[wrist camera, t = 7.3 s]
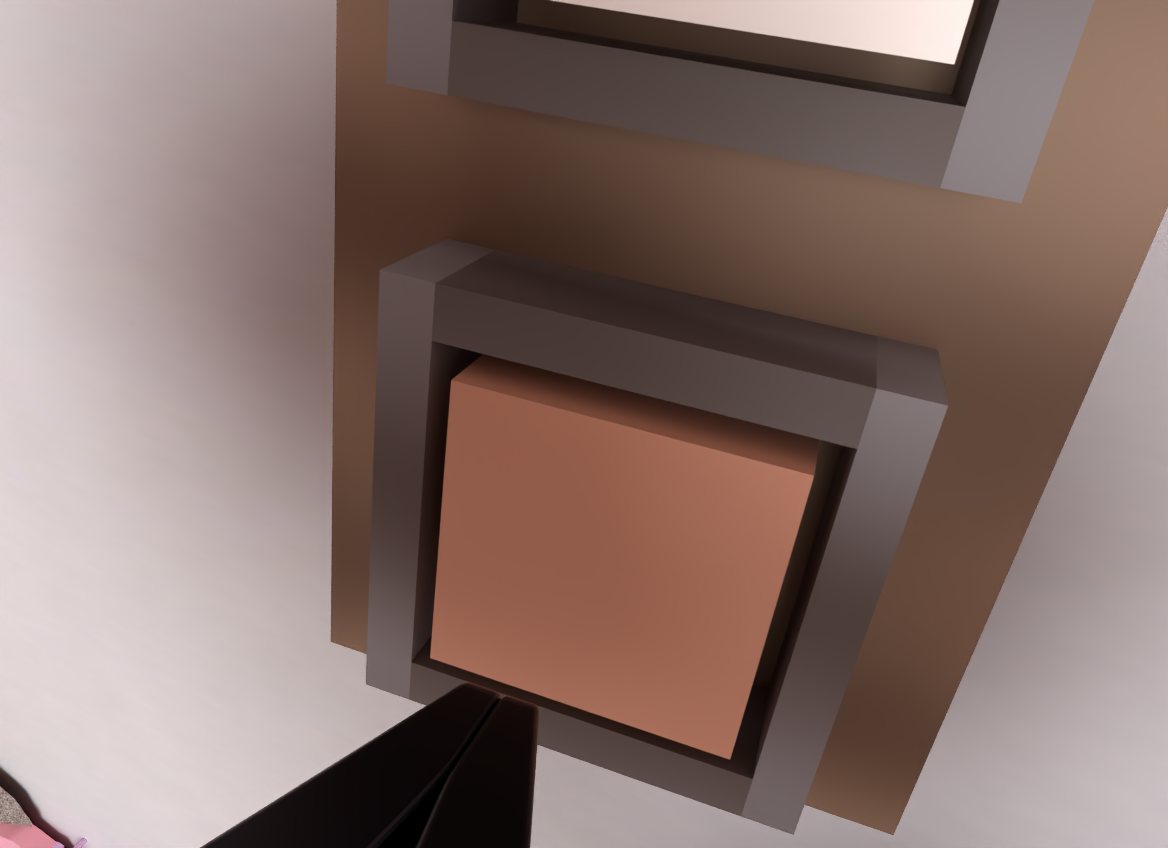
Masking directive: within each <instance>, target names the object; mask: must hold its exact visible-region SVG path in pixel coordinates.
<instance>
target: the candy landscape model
mask: <svg viewBox="0 0 1168 848" xmlns="http://www.w3.org/2000/svg"><path fill="white" fill-rule="evenodd" d="M86 842H87V840H86V839H85V838H83V839H81V840H80V841H79V842H78V843H77V844H76V845H75V846H74V847H73V848H81V847H82V846H83V845H84V844H85V843H86ZM0 848H64V845H62V844H61V843H59V842H56V841H54V840H53V839H52V838H50V837H49V836H48V835H47V834H45V833H44V832H43V831H41V830H40V829H39V828H37V827H36V826H35V825H33V824H32V822H31V821H30V819H29V817H28V816H27V815H26V814H25V813H24V812H23V810H22V808H21V807H20V805H19V804H18V802H17V801H16V800H15V799H14V798H13V797H12V796H11V795H10V794H8V793H7V792H6V791H5V790H4V789H2V788H1V787H0Z"/></svg>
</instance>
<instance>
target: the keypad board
mask: <svg viewBox="0 0 1168 848" xmlns="http://www.w3.org/2000/svg"><path fill="white" fill-rule="evenodd" d="M1167 207H1168V0H974V2H973V5H972V8H971V12H970V15H969V18H968V21H967V25H966V28H965V31H964V34H963V38H962V41H961V44H960V48H959V51H958V54H957V57H956V61H955V64H948V63H942V62H935V61H929V60H923V59H916V58H910V57H904V56H897V55H891V54H885V53H879V52H872V51H866V50H860V49H853V48H847V47H841V46H835V45H828V44H822V43H816V42H809V41H803V40H797V39H790V38H784V37H778V36H772V35H765V34H759V33H753V32H746V31H740V30H734V29H727V28H721V27H715V26H709V25H702V24H696V23H690V22H683V21H677V20H671V19H665V18H658V17H652V16H646V15H639V14H633V13H627V12H620V11H614V10H608V9H602V8H595V7H589V6H583V5H576V4H570V3H564V2H558V1H551V0H337V46H336V152H335V259H334V365H333V472H332V578H331V642H333V643H336V644H339V645H342V646H345V647H348V648H351V649H354V650H357V651H360V652H363V653H365V654H367V665H366V684H367V685H370V686H373V687H376V688H378V689H381V690H384V691H387V692H390V693H393V694H395V695H398V696H401V697H404V698H407V699H410V700H412V701H415V702H418V703H421V704H424V705H429V704H430V703H432V702H433V701H435V700H437V699H438V698H440V697H441V696H443V695H445V694H446V693H448V692H449V691H451V690H453V689H454V688H456V687H457V686H459V685H461V684H463V683H467V682H470V683H474V684H477V685H480V686H483V687H486V688H489V689H492V690H495V691H497V692H498V693H499V694H500V695H501V698H502V697H503V696H506V695H509V696H512V697H515V698H518V699H521V700H524V701H527V702H530V703H533V704H535V705H537V707H538V708H539V724H538V739H537V745H540V746H543V747H546V748H549V749H552V750H554V751H557V752H560V753H563V754H566V755H569V756H571V757H574V758H577V759H580V760H583V761H586V762H588V763H591V764H594V765H597V766H600V767H603V768H605V769H608V770H611V771H614V772H617V773H620V774H622V775H625V776H628V777H631V778H634V779H637V780H639V781H642V782H645V783H648V784H651V785H654V786H657V787H659V788H662V789H665V790H668V791H671V792H674V793H676V794H679V795H682V796H685V797H688V798H691V799H693V800H696V801H699V802H702V803H705V804H708V805H710V806H713V807H716V808H719V809H722V810H725V811H727V812H730V813H733V814H736V815H739V816H742V817H745V818H747V819H750V820H753V821H756V822H759V823H762V824H764V825H767V826H770V827H773V828H776V829H779V830H781V831H784V832H787V833H790V834H793V835H794V832H795V829H796V826H797V823H798V821H799V818H800V815H801V812H802V810H803V807H804V805H807V806H810V807H813V808H816V809H819V810H822V811H825V812H828V813H830V814H833V815H836V816H839V817H842V818H845V819H848V820H851V821H854V822H857V823H860V824H862V825H865V826H868V827H871V828H874V829H877V830H880V831H883V832H886V833H889V834H891V835H894V832H895V830H896V828H897V826H898V823H899V821H900V819H901V816H902V814H903V812H904V809H905V807H906V805H907V803H908V800H909V798H910V796H911V793H912V791H913V789H914V787H915V784H916V782H917V780H918V777H919V775H920V773H921V771H922V768H923V766H924V764H925V761H926V759H927V757H928V755H929V752H930V750H931V748H932V745H933V743H934V741H935V738H936V736H937V734H938V732H939V729H940V727H941V725H942V722H943V720H944V718H945V716H946V713H947V711H948V709H949V706H950V704H951V702H952V700H953V697H954V695H955V693H956V690H957V688H958V686H959V684H960V681H961V679H962V677H963V674H964V672H965V670H966V667H967V665H968V663H969V661H970V658H971V656H972V654H973V651H974V649H975V647H976V645H977V642H978V640H979V638H980V635H981V633H982V631H983V629H984V626H985V624H986V622H987V619H988V617H989V615H990V613H991V610H992V608H993V606H994V603H995V601H996V599H997V596H998V594H999V592H1000V590H1001V587H1002V585H1003V583H1004V580H1005V578H1006V576H1007V574H1008V571H1009V569H1010V567H1011V564H1012V562H1013V560H1014V558H1015V555H1016V553H1017V551H1018V548H1019V546H1020V544H1021V542H1022V539H1023V537H1024V535H1025V532H1026V530H1027V528H1028V526H1029V523H1030V521H1031V519H1032V516H1033V514H1034V512H1035V509H1036V507H1037V505H1038V503H1039V500H1040V498H1041V496H1042V493H1043V491H1044V489H1045V487H1046V484H1047V482H1048V480H1049V477H1050V475H1051V473H1052V471H1053V468H1054V466H1055V464H1056V461H1057V459H1058V457H1059V455H1060V452H1061V450H1062V448H1063V445H1064V443H1065V441H1066V438H1067V436H1068V434H1069V432H1070V429H1071V427H1072V425H1073V422H1074V420H1075V418H1076V416H1077V413H1078V411H1079V409H1080V406H1081V404H1082V402H1083V400H1084V397H1085V395H1086V393H1087V390H1088V388H1089V386H1090V384H1091V381H1092V379H1093V377H1094V374H1095V372H1096V370H1097V367H1098V365H1099V363H1100V361H1101V358H1102V356H1103V354H1104V351H1105V349H1106V347H1107V345H1108V342H1109V340H1110V338H1111V335H1112V333H1113V331H1114V329H1115V326H1116V324H1117V322H1118V319H1119V317H1120V315H1121V313H1122V310H1123V308H1124V306H1125V303H1126V301H1127V299H1128V296H1129V294H1130V292H1131V290H1132V287H1133V285H1134V283H1135V280H1136V278H1137V276H1138V274H1139V271H1140V269H1141V267H1142V264H1143V262H1144V260H1145V258H1146V255H1147V253H1148V251H1149V248H1150V246H1151V244H1152V242H1153V239H1154V237H1155V235H1156V232H1157V230H1158V228H1159V226H1160V223H1161V221H1162V219H1163V216H1164V214H1165V212H1166V209H1167ZM483 354H485V355H489V356H493V357H497V358H501V359H505V360H509V361H513V362H517V363H521V364H525V365H529V366H533V367H536V368H540V369H544V370H548V371H552V372H556V373H560V374H564V375H568V376H572V377H576V378H580V379H584V380H588V381H591V382H595V383H599V384H603V385H607V386H611V387H615V388H619V389H623V390H627V391H631V392H635V393H639V394H642V395H646V396H650V397H654V398H658V399H662V400H666V401H670V402H674V403H678V404H682V405H686V406H690V407H694V408H697V409H701V410H705V411H709V412H713V413H717V414H721V415H725V416H729V417H733V418H737V419H741V420H745V421H749V422H752V423H756V424H760V425H764V426H768V427H772V428H776V429H780V430H784V431H788V432H792V433H796V434H800V435H803V436H807V437H811V438H815V439H819V440H820V441H819V448H818V454H817V461H816V467H815V474H814V478H813V482H812V485H811V488H810V492H809V495H808V499H807V502H806V505H805V509H804V512H803V515H802V519H801V522H800V526H799V529H798V532H797V536H796V539H795V542H794V546H793V549H792V553H791V556H790V559H789V563H788V566H787V569H786V573H785V576H784V580H783V583H782V586H781V590H780V593H779V596H778V600H777V603H776V607H775V610H774V613H773V617H772V620H771V623H770V627H769V630H768V634H767V637H766V640H765V644H764V647H763V650H762V654H761V657H760V661H759V664H758V667H757V671H756V674H755V677H754V681H753V684H752V688H751V691H750V694H749V698H748V701H747V704H746V708H745V711H744V715H743V718H742V721H741V725H740V728H739V731H738V735H737V738H736V742H735V745H734V748H733V752H732V755H731V758H730V760H729V759H726V758H723V757H720V756H717V755H715V754H712V753H709V752H706V751H703V750H700V749H697V748H694V747H691V746H688V745H685V744H682V743H679V742H676V741H673V740H670V739H667V738H664V737H661V736H659V735H656V734H653V733H650V732H647V731H644V730H641V729H638V728H635V727H632V726H629V725H626V724H623V723H620V722H617V721H614V720H611V719H608V718H606V717H603V716H600V715H597V714H594V713H591V712H588V711H585V710H582V709H579V708H576V707H573V706H570V705H567V704H564V703H561V702H558V701H555V700H552V699H550V698H547V697H544V696H541V695H538V694H535V693H532V692H529V691H526V690H523V689H520V688H517V687H514V686H511V685H508V684H505V683H502V682H499V681H496V680H494V679H491V678H488V677H485V676H482V675H479V674H476V673H473V672H470V671H467V670H464V669H461V668H458V667H455V666H452V665H449V664H446V663H443V662H440V661H438V660H435V659H432V658H430V653H431V640H432V627H433V613H434V600H435V587H436V574H437V561H438V547H439V534H440V521H441V508H442V495H443V481H444V468H445V455H446V442H447V429H448V415H449V402H450V389H451V380H452V379H453V378H454V377H456V376H457V375H458V374H459V373H461V372H462V371H463V370H464V369H466V368H467V367H468V366H469V365H471V364H472V363H473V362H474V361H476V360H477V359H478V358H479V357H481V356H482V355H483Z"/></svg>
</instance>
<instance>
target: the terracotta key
mask: <svg viewBox="0 0 1168 848" xmlns="http://www.w3.org/2000/svg"><path fill="white" fill-rule="evenodd" d="M819 441H820V440H819V439H815V438H811V437H807V436H803V435H800V434H796V433H792V432H788V431H784V430H780V429H776V428H772V427H768V426H764V425H760V424H756V423H752V422H749V421H745V420H741V419H737V418H733V417H729V416H725V415H721V414H717V413H713V412H709V411H705V410H701V409H697V408H694V407H690V406H686V405H682V404H678V403H674V402H670V401H666V400H662V399H658V398H654V397H650V396H646V395H642V394H639V393H635V392H631V391H627V390H623V389H619V388H615V387H611V386H607V385H603V384H599V383H595V382H591V381H588V380H584V379H580V378H576V377H572V376H568V375H564V374H560V373H556V372H552V371H548V370H544V369H540V368H536V367H533V366H529V365H525V364H521V363H517V362H513V361H509V360H505V359H501V358H497V357H493V356H489V355H485V354H483V355H482V356H481V357H479V358H478V359H477V360H476V361H474V362H473V363H472V364H471V365H469V366H468V367H467V368H466V369H464V370H463V371H462V372H461V373H459V374H458V375H457V376H456V377H454V378H453V379H452V380H451V389H450V402H449V415H448V429H447V442H446V455H445V468H444V481H443V495H442V508H441V521H440V534H439V547H438V561H437V574H436V587H435V600H434V613H433V627H432V640H431V653H430V658H432V659H435V660H438V661H440V662H443V663H446V664H449V665H452V666H455V667H458V668H461V669H464V670H467V671H470V672H473V673H476V674H479V675H482V676H485V677H488V678H491V679H494V680H496V681H499V682H502V683H505V684H508V685H511V686H514V687H517V688H520V689H523V690H526V691H529V692H532V693H535V694H538V695H541V696H544V697H547V698H550V699H552V700H555V701H558V702H561V703H564V704H567V705H570V706H573V707H576V708H579V709H582V710H585V711H588V712H591V713H594V714H597V715H600V716H603V717H606V718H608V719H611V720H614V721H617V722H620V723H623V724H626V725H629V726H632V727H635V728H638V729H641V730H644V731H647V732H650V733H653V734H656V735H659V736H661V737H664V738H667V739H670V740H673V741H676V742H679V743H682V744H685V745H688V746H691V747H694V748H697V749H700V750H703V751H706V752H709V753H712V754H715V755H717V756H720V757H723V758H726V759H729V760H730V758H731V755H732V752H733V748H734V745H735V742H736V738H737V735H738V731H739V728H740V725H741V721H742V718H743V715H744V711H745V708H746V704H747V701H748V698H749V694H750V691H751V688H752V684H753V681H754V677H755V674H756V671H757V667H758V664H759V661H760V657H761V654H762V650H763V647H764V644H765V640H766V637H767V634H768V630H769V627H770V623H771V620H772V617H773V613H774V610H775V607H776V603H777V600H778V596H779V593H780V590H781V586H782V583H783V580H784V576H785V573H786V569H787V566H788V563H789V559H790V556H791V553H792V549H793V546H794V542H795V539H796V536H797V532H798V529H799V526H800V522H801V519H802V515H803V512H804V509H805V505H806V502H807V499H808V495H809V492H810V488H811V485H812V482H813V478H814V474H815V467H816V461H817V454H818V448H819Z"/></svg>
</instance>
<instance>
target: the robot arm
mask: <svg viewBox="0 0 1168 848" xmlns="http://www.w3.org/2000/svg"><path fill="white" fill-rule="evenodd" d="M538 724H539V708H538V707H537V705H535V704H533V703H530V702H527V701H524V700H521V699H518V698H515V697H512V696H509V695H506V696H503V697H502V698H501V695H500V694H499V693H498V692H497V691H495V690H492V689H489V688H486V687H483V686H480V685H477V684H474V683H470V682H467V683H463V684H461V685H459V686H457V687H456V688H454V689H453V690H451V691H449V692H448V693H446V694H445V695H443V696H441V697H440V698H438V699H437V700H435V701H433V702H432V703H430V704H429V705H427V706H425V707H424V708H422V709H421V710H419V711H417V712H416V713H414V714H413V715H411V716H409V717H408V718H406V719H405V720H403V721H401V722H400V723H398V724H397V725H395V726H393V727H392V728H390V729H389V730H387V731H386V732H384V733H382V734H381V735H379V736H378V737H376V738H374V739H373V740H371V741H370V742H368V743H366V744H365V745H363V746H362V747H360V748H358V749H357V750H355V751H354V752H352V753H350V754H349V755H347V756H346V757H344V758H342V759H341V760H339V761H338V762H336V763H334V764H333V765H331V766H330V767H328V768H326V769H325V770H323V771H322V772H320V773H318V774H317V775H315V776H314V777H312V778H310V779H309V780H307V781H306V782H304V783H302V784H301V785H299V786H298V787H296V788H294V789H293V790H291V791H290V792H288V793H286V794H285V795H283V796H282V797H280V798H279V799H277V800H275V801H274V802H272V803H271V804H269V805H267V806H266V807H264V808H263V809H261V810H259V811H258V812H256V813H255V814H253V815H251V816H250V817H248V818H247V819H245V820H243V821H242V822H240V823H239V824H237V825H235V826H234V827H232V828H231V829H229V830H227V831H226V832H224V833H223V834H221V835H219V836H218V837H216V838H215V839H213V840H211V841H210V842H208V843H207V844H205V845H203V846H202V847H200V848H530V843H531V828H532V813H533V798H534V783H535V768H536V753H537V739H538Z"/></svg>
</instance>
